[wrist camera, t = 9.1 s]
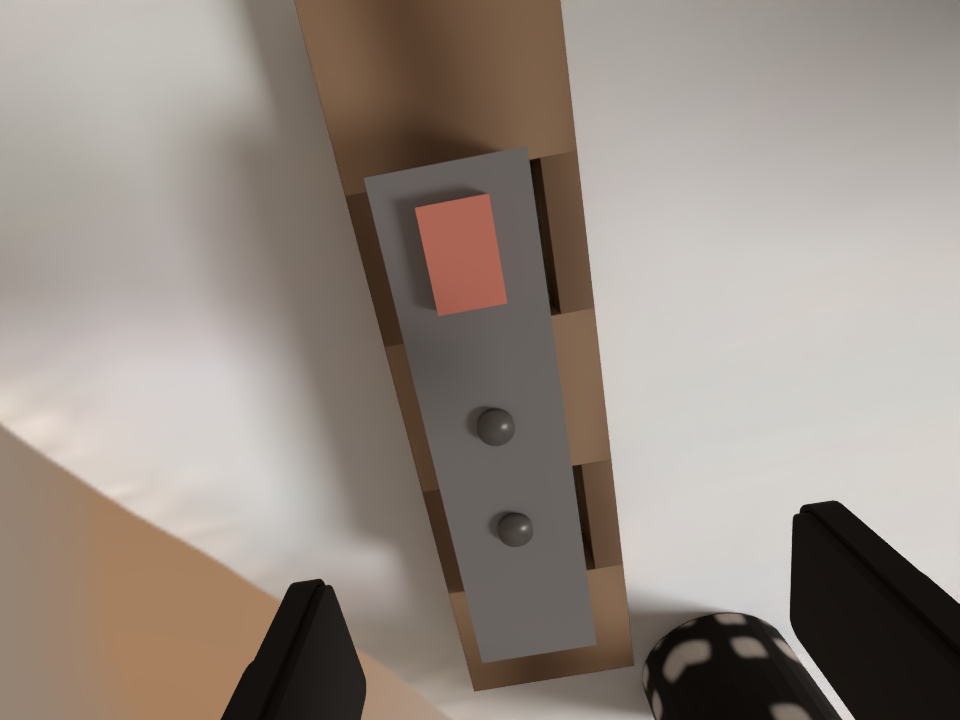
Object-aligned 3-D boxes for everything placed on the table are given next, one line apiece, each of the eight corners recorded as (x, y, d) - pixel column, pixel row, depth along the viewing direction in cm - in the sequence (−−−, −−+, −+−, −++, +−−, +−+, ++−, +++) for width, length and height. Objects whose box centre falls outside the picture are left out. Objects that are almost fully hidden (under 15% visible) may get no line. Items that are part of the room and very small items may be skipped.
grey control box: (508, 160, 19) (529, 143, 13) (566, 540, 25) (601, 658, 18) (394, 183, 19) (359, 177, 13) (478, 555, 25) (482, 677, 18)
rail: (539, -38, 17) (551, -76, 14) (618, 623, 26) (634, 665, 24) (313, 10, 17) (288, -20, 15) (473, 647, 27) (474, 691, 24)
